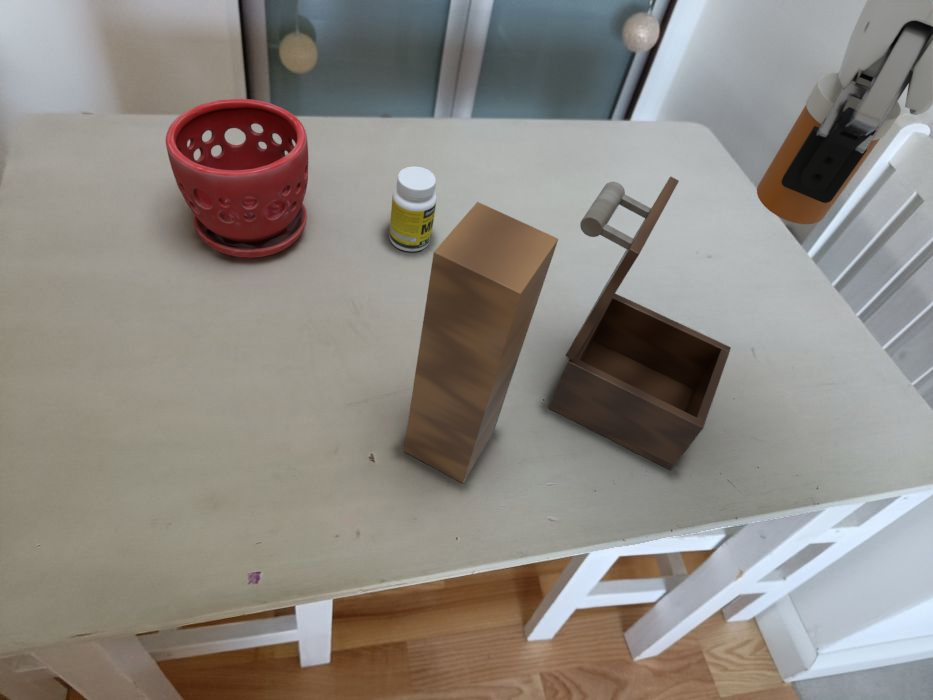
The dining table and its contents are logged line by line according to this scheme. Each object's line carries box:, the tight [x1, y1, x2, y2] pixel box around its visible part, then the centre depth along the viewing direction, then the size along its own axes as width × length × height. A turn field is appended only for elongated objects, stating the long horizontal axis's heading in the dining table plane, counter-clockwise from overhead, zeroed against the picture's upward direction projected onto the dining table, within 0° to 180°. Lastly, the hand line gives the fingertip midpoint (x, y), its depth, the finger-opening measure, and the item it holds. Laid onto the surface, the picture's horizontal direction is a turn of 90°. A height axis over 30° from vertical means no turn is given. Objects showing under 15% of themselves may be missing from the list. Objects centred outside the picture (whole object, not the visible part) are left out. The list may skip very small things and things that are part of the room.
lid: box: [565, 176, 680, 360], centre depth 58 cm, size 14×11×5 cm
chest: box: [547, 292, 732, 471], centre depth 65 cm, size 13×11×7 cm
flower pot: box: [165, 98, 309, 259], centre depth 70 cm, size 13×13×12 cm
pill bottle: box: [756, 72, 902, 225], centre depth 44 cm, size 5×5×8 cm
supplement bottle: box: [388, 166, 438, 252], centre depth 74 cm, size 5×5×8 cm
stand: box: [403, 201, 559, 484], centre depth 53 cm, size 6×6×24 cm
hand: (812, 167), depth 45 cm, fingers closed on pill bottle, 4 cm apart
